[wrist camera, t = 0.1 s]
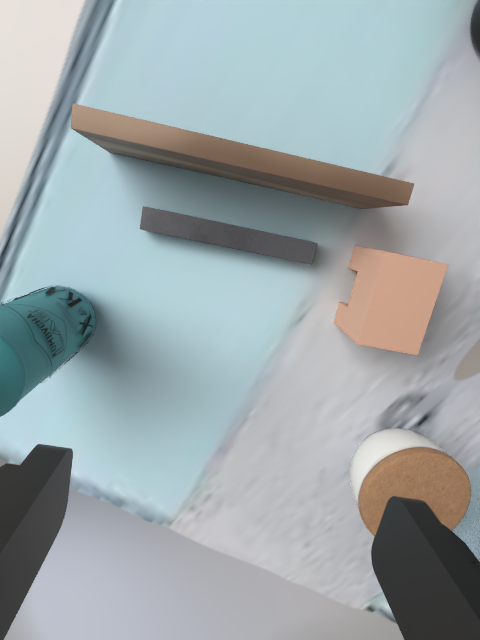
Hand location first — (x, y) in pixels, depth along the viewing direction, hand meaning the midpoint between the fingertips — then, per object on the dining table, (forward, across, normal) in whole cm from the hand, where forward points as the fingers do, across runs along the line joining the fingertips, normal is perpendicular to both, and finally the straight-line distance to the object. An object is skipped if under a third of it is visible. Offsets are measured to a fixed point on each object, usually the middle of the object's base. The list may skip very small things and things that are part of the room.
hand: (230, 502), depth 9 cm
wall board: (+29, 0, -11) cm, 31 cm away
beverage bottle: (+29, +14, +5) cm, 33 cm away
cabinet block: (+29, -15, -3) cm, 33 cm away
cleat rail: (+29, 0, -5) cm, 30 cm away
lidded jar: (+29, -22, +15) cm, 40 cm away
